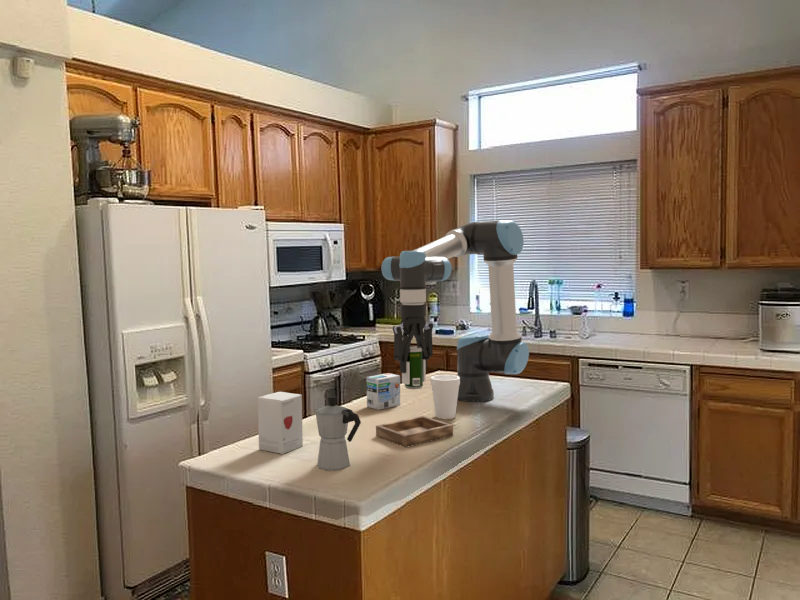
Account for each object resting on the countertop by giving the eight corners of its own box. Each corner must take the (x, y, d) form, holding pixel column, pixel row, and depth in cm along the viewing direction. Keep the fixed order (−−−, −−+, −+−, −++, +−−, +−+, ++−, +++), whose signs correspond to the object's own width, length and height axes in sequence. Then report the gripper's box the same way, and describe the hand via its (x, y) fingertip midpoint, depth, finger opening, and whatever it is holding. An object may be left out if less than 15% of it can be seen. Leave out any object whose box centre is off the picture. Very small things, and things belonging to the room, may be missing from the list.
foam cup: (457, 420, 211) (457, 380, 210) (429, 419, 213) (429, 380, 212) (461, 413, 221) (461, 375, 220) (433, 412, 223) (433, 374, 222)
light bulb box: (378, 410, 226) (377, 379, 226) (366, 407, 231) (365, 376, 231) (401, 405, 234) (400, 375, 233) (388, 401, 239) (388, 372, 238)
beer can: (426, 388, 193) (425, 347, 192) (409, 390, 190) (409, 349, 189) (417, 384, 197) (417, 345, 196) (401, 386, 195) (401, 346, 194)
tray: (422, 425, 206) (422, 415, 206) (453, 435, 195) (452, 425, 195) (376, 436, 195) (375, 425, 195) (405, 447, 184) (405, 436, 184)
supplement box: (282, 454, 179) (280, 400, 178) (258, 449, 184) (256, 397, 182) (304, 446, 186) (302, 394, 185) (280, 441, 191) (278, 390, 190)
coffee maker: (303, 466, 169) (301, 397, 168) (324, 456, 177) (323, 390, 175) (350, 476, 162) (349, 403, 160) (370, 465, 169) (369, 396, 168)
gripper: (428, 301, 200) (429, 376, 202) (379, 304, 189) (381, 384, 191) (445, 302, 194) (445, 380, 196) (395, 306, 183) (396, 388, 185)
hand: (413, 382), depth 194 cm, fingers closed on beer can, 5 cm apart
